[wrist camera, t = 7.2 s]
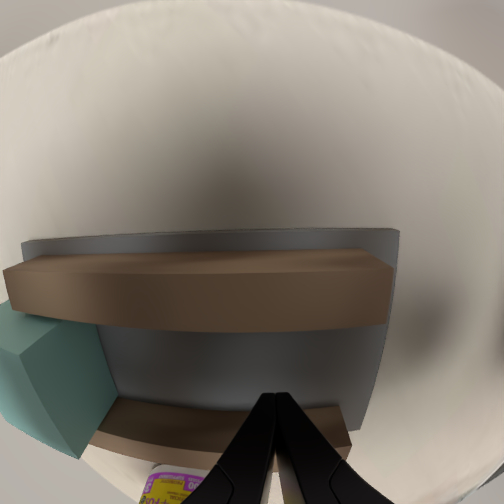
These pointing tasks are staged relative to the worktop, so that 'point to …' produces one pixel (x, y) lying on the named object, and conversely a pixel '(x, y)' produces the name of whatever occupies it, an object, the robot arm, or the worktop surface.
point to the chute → (220, 328)
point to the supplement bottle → (171, 484)
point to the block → (53, 379)
